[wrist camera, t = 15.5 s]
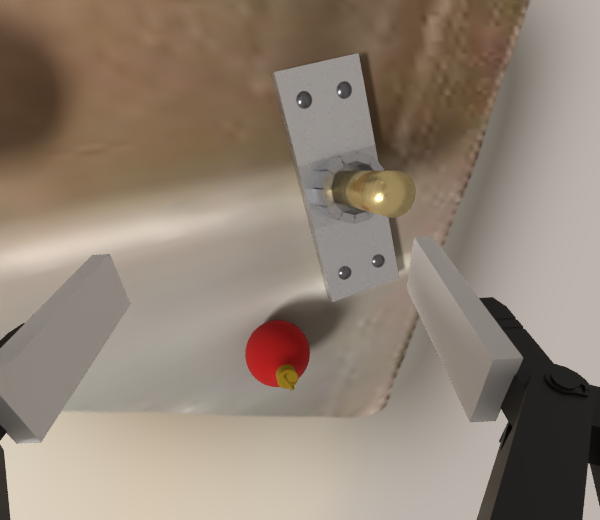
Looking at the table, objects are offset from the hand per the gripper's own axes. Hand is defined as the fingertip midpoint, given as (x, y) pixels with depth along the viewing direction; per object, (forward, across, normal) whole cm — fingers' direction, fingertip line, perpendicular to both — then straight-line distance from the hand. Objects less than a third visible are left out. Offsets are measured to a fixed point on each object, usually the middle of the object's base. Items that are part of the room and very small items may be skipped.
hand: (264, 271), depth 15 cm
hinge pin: (+23, +6, -5) cm, 24 cm away
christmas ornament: (+17, -3, -21) cm, 27 cm away
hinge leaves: (+24, +6, -5) cm, 25 cm away
